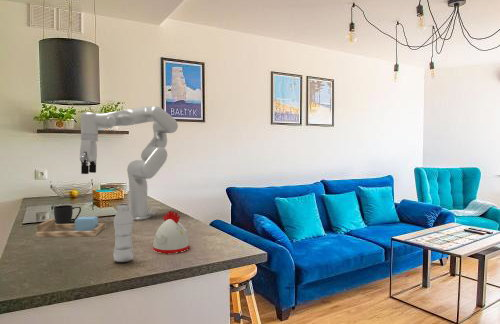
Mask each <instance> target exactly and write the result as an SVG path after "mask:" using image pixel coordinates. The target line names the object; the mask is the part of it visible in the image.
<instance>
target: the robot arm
mask: <svg viewBox="0 0 500 324" xmlns="http://www.w3.org/2000/svg"><path fill="white" fill-rule="evenodd" d="M150 122H151V123H152V122H153V124H152V130H153V137H152V139H151V140H150V142H149V143H148V144H147V145H146V146H145V148H144V149H143V150H142V151H141V154H140V157H141V160H140V159H134V160H133V161H130V162H129V163H128V166H127V169H126V171H127V177H128V187H129V188H128V189H129V190H128V191H129V192H128V199H129V201H128V204H129V210H128V212H129V213H130V214H131V215H132V217H133V221H140V220H147V219H150V218H151V215H154V216H155V215H156V210H149V209H150V208H148V181H147V180H148V179H152V178H154V177H155V176H156V174H157V173H158V172H159V171H160V169H161V168H162V167H163V166H164V164H165V163H166V161H167V159H168V151H167V149H166V147H167V144H168V137H167V134H172V133H175V132H176V131H178V127H179V126H178V125H179V124H178V122H177V120H176V118H174V117H173V116H172V115H171V114H169V113H168V112H167V111H165V110H164V109H163V108H161V106H158V105H151V106H142V107H135V108H127V109H121V110H117V111H110V112H103V113H96V112H91V111H88V112H87V111H86V112H85V111H84V112H82V113H81V115H80V148H79V161H80V163H81V165H80V171H81V172H80V174H81V175H88V174H89V173H91V174H92V173H94V174H95V173H97V157H98V155H97V154H98V153H97V152H98V147H97V142H98V140H99V130H101V129H105V130H107V129H112V128H114V127H119V126H120V127H121V126H134V125H140V124H145V123H150Z"/></svg>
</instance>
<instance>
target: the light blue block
mask: <svg viewBox="0 0 500 324" xmlns="http://www.w3.org/2000/svg"><path fill="white" fill-rule="evenodd" d="M98 223H99V216H78V217H77V219H76V220H75V222H74V224H75V229H74V231H92V230H93V229H94V228H95V227H97V226H98Z"/></svg>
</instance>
